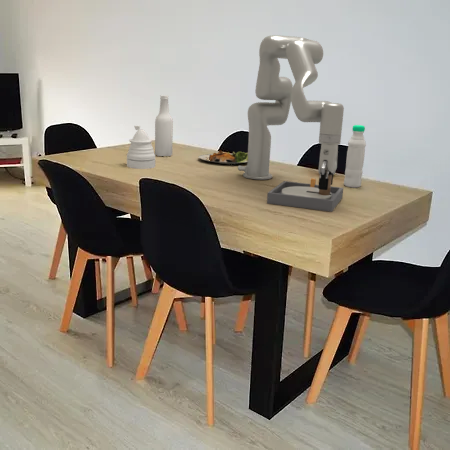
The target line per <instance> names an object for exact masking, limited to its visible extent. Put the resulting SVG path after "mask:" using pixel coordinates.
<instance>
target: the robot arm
mask: <svg viewBox="0 0 450 450" xmlns="http://www.w3.org/2000/svg"><path fill="white" fill-rule="evenodd" d="M323 49H324V48H323V47H322V44H321V43H320V42H318V41H317V40H314V39H309V38H305V37H303V36H302V37H301V36H290V35H280V34H279V35H278V34H277V35H276V34H273V35H267V36H266V37H264V38H263V39H262V41H261V43H260V45H259V52H258V53H259V54H258V55H259V64H258V65H259V66H258V71H257V78H256V83H255V96H256V98H257V99H259V100H262V101H263V102H261V101H258V102H254V103H252V104H250V105H249V107H248V109H247V121H248V144H247V153H248V154H247V155H248V160H247V162H246V165H244V166H243V165H238V166H237V170H238V171H241V172H243V173H242V176H243V178H246V179H249V180H250V179H251V180H260V181H261V180H262V181H263V180H271V179H272V178H273V174H272V173H270V163H271V162H270V161H271V148H272V147H271V144H272V135H271V132H270V130H269V128H268V126H281V125H285V123H286V122H287V120H288V118H289V115H290V114H289V113H290V108H291V106H292V109H293V112H294V115H295V117H296V118H297V119H298V120H299V121H300V122H302V123H320V124H319V136H318V144H320V152H321V153H320V152H319V160H320V163H319V162H318V171H320V174H319V178H318V185H319V186H318V189H321V190H327V189H328V180H329V179H328V175H329V174H330V175H332V180H331V186H333V184H334V183H333V182H334V175H333V172H334V171H335V172H336V170H337V168H338V157H339V156H338V153H339V151H338V150H339V145H341V142H342V141H341V140H342V131H343V130H342V129H343V122H344V120H343V119H344V109H345V108H344V105H343V104H342V103H339V102H338V103H337V102H332V101H328V100H307V98H306V95H305V92H304V88H305V87H308V86H309V85H311V84H313V83H314V82H315V81H316V80H317V78H318V76H319V75H318V71H317V68H316V65H317V64H320V63H321V61H322V60H323V57H324V50H323ZM279 59H285V60H287V62H288V64H289V67H290V69H291V73H292V76H293V79H294V81H295V82H294V84H293V83H292V80H291V79H290V78H289V77H286V76H280V72H281V64H280V61H279ZM264 101H265V102H264ZM266 101H267V102H266ZM268 101H269V102H268ZM270 101H274V102H270Z"/></svg>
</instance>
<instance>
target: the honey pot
mask: <svg viewBox="0 0 450 450" xmlns="http://www.w3.org/2000/svg"><path fill="white" fill-rule="evenodd" d="M134 130H136V132H135V134H134V135H133V137H132V138H130V139H129V140H128V141H129V143H130V145H129V147H128V151H127V154H126V166H127V168H130V169H137V170H139V169H140V170H142V169H143V170H145V169H147V170H148V169H152V168H156V155H155V149H154V147H153V144H152V141H153V140H152V139H150V137H149V135H148V133H147V132H146V131H145V130H144V129H141V125H134Z"/></svg>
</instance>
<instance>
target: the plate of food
mask: <svg viewBox="0 0 450 450" xmlns="http://www.w3.org/2000/svg"><path fill="white" fill-rule="evenodd" d="M198 158H199V159H201V160H203V161H206V162H208V163H215V164H226V165H230V164H231V165H232V164H234V165H238V164H243V163H247V160H248V152H244V151H243V152H242V151H240V150H239V151H237V152H235V151H232V153H230V152H229V151H228V152H226V151H225V152H224V151H222V150H219V151H218V152H217V153H216V152H213V153H207V154H201V155H199V156H198ZM208 158H209V160H210V161H209V160H206V159H208Z"/></svg>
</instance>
